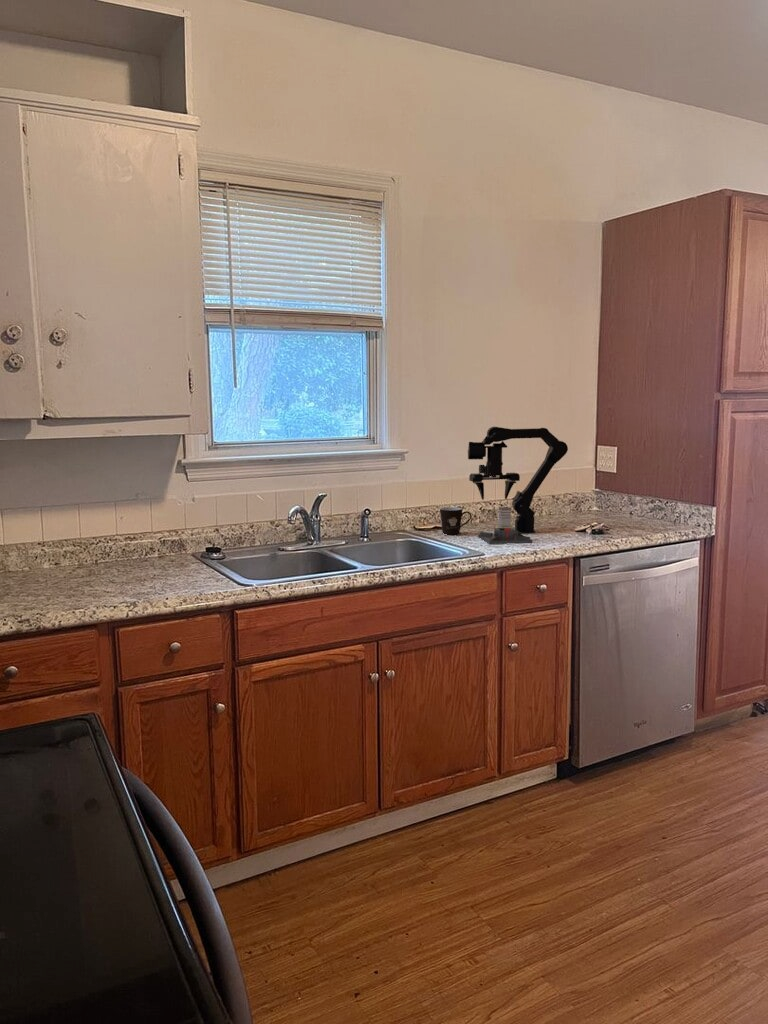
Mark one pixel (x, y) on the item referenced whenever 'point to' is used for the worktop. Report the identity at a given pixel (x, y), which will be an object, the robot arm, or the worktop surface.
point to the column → (504, 517)
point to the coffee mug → (452, 520)
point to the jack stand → (504, 536)
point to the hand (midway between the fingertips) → (494, 499)
